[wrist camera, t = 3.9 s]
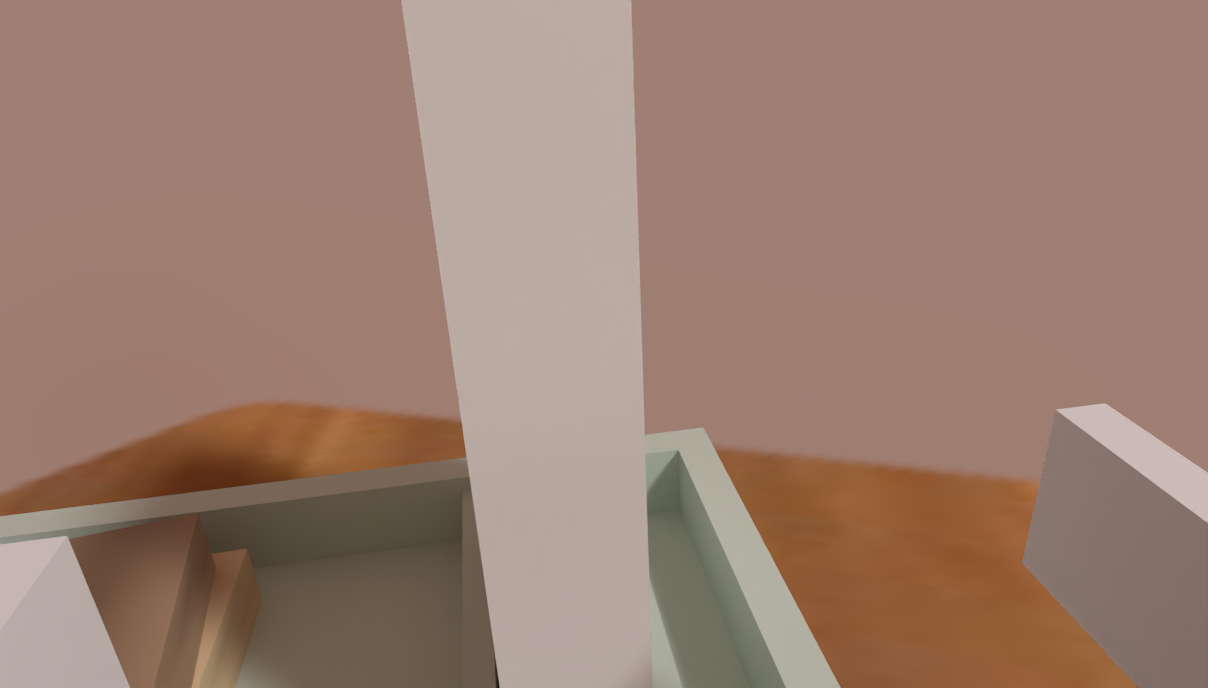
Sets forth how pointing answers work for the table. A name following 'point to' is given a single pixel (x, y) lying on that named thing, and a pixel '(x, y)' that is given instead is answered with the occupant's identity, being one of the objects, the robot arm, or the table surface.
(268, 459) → the table surface
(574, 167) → the white rectangular block
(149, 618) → the offcut upper
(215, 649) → the offcut lower
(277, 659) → the tray
